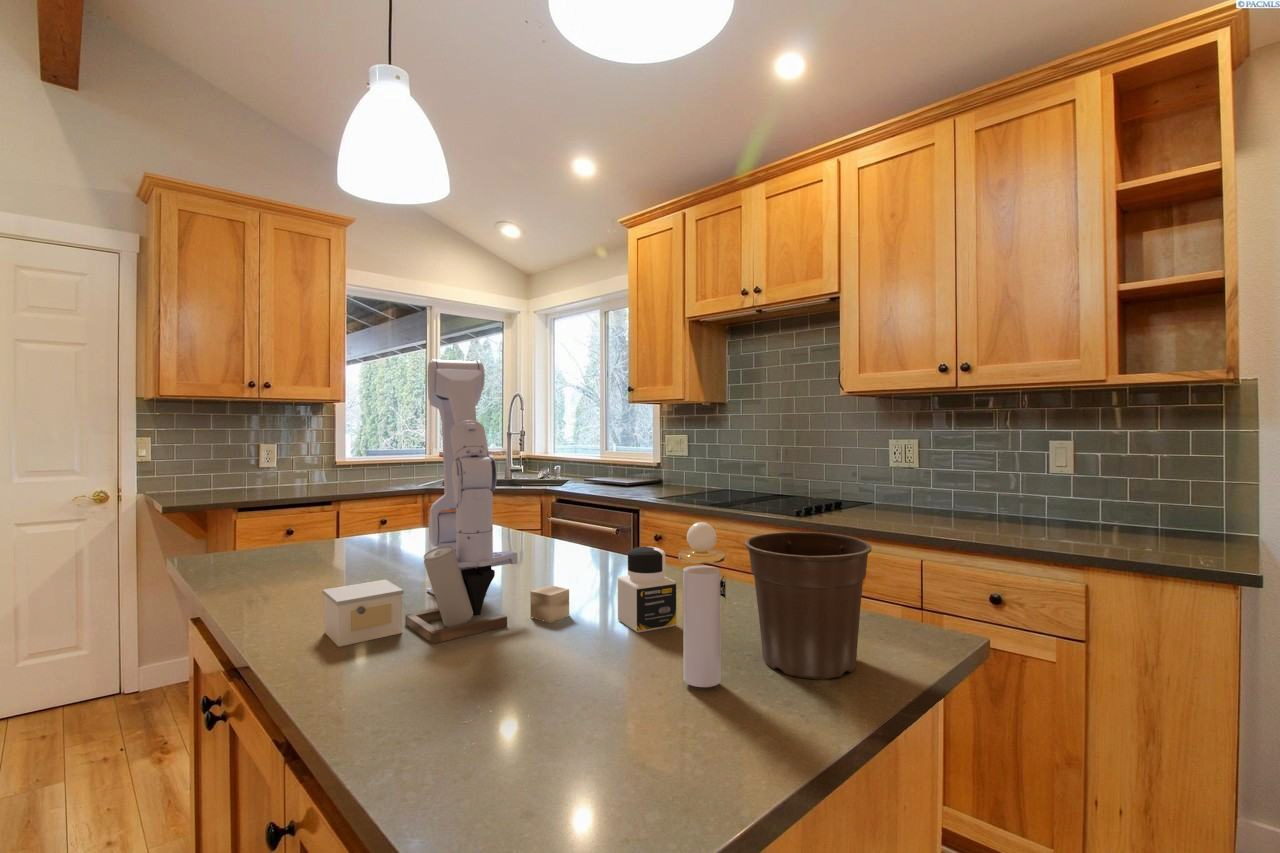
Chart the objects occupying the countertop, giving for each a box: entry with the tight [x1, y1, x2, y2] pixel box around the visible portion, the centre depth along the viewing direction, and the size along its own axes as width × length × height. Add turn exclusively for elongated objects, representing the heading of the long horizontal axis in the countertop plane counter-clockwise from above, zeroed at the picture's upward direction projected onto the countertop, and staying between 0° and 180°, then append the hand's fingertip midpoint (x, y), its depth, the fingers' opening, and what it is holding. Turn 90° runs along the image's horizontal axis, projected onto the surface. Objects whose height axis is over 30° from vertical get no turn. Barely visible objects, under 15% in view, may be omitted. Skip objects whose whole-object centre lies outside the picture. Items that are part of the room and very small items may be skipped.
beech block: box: [529, 585, 570, 623], centre depth 102 cm, size 4×4×4 cm
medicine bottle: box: [617, 546, 677, 634], centre depth 98 cm, size 7×7×12 cm
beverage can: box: [423, 546, 474, 628], centre depth 96 cm, size 5×5×12 cm
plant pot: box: [744, 531, 873, 680], centre depth 82 cm, size 16×16×16 cm
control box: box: [322, 578, 404, 648], centre depth 94 cm, size 9×9×7 cm
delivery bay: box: [404, 607, 508, 645], centre depth 97 cm, size 11×12×2 cm
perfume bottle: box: [677, 521, 726, 688], centre depth 75 cm, size 6×6×20 cm
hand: (475, 614), depth 99 cm, fingers closed
